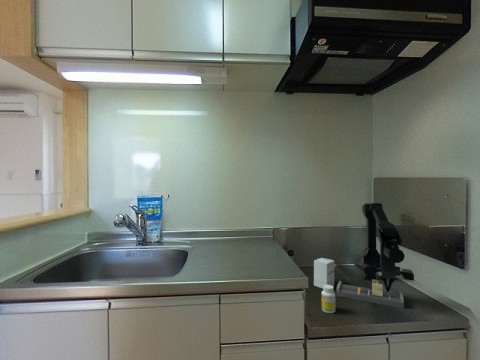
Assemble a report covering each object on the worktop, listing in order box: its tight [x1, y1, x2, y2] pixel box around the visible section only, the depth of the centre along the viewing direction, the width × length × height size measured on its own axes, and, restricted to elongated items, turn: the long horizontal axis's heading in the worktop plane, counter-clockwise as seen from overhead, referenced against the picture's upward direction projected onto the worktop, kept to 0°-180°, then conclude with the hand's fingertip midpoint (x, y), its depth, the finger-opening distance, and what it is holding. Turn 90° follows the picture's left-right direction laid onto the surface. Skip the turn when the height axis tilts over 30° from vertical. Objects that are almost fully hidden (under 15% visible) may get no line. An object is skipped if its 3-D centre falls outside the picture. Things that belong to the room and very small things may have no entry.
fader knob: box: [371, 279, 384, 297], centre depth 116 cm, size 5×4×5 cm
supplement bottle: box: [321, 285, 336, 314], centre depth 107 cm, size 5×5×10 cm
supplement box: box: [313, 257, 335, 289], centre depth 131 cm, size 7×7×13 cm
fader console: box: [335, 280, 405, 309], centre depth 118 cm, size 10×26×4 cm, turn 62°
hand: (387, 291), depth 115 cm, fingers closed
